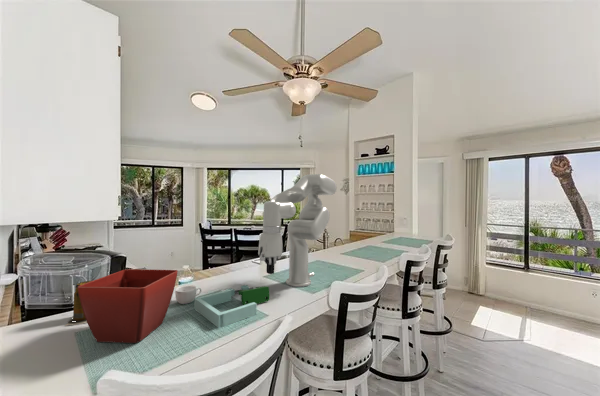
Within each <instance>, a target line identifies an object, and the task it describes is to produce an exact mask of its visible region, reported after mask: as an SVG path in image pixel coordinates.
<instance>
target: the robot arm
mask: <svg viewBox="0 0 600 396" xmlns="http://www.w3.org/2000/svg"><path fill="white" fill-rule="evenodd" d="M337 188H338V187H337V183H336V181H335V180H334V179H332V178H330V177H328V176H327V175H324V174H321V173H316V174H315V173H314V174H311V173H310V174H305V175H303V176H302V177H301V178H300V179H299V180H297V182H296V183H295V184H294V185H293V186H292V187H290V188H287V189H286V190H283V191H280V192H278V194H276V195H275V196H273V197H272V198H271V199H270V200H269V201H266V202H265V201H264V203H263V216H262V217H263V220H262V233H261V234H260V236H259V237H260V238H259V241H258V248H257V249H258V252H257V254H258V255H257V256H258V257H259V260H260V261H262V262H264V263H265V264H266V269H265V270H266V273H267V274H270V275H274V274H275V265H276V264H277V261H278V260H279V259H281V258H282V255H283V248H284V247H283V236H282V233H281V231H282V229H283V227H282V226H281V225H282V223H281V222H282V219H292V218H293V217H294V216H295V215H296V213H297V208H296V205H295V204H297V203H300V202H302V201H304V200H305V199H306V198H307V202H306V203H305V204H304V206H303V208H302V209H301V210H300V213H299V216H298V218H299V219H293V220H290V221H289V223H288V225H287V235H288V242H289V248H288V249H289V251H288V253H289V256H288V257H289V259H288V263H289V264H288V278H286V280H285V283H286V285H288V286H290V287H295V288H296V287H298V288H299V287H300V288H301V287H307V286H310V285H311V284H312V280H311V279H310V278H311V277H314V276H315V272H309V245H308V243H307V240H308V241H317V240H319V239H320V238H321V236H323V235H322V234H323V233H324V232H325V229H326V228H327V226H328V224H329V221H330V211H329V209H328V208H327V207H325V206H323V203H322V200H321V198H320V197H319V196H334V194H335V193H336V192H337Z"/></svg>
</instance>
